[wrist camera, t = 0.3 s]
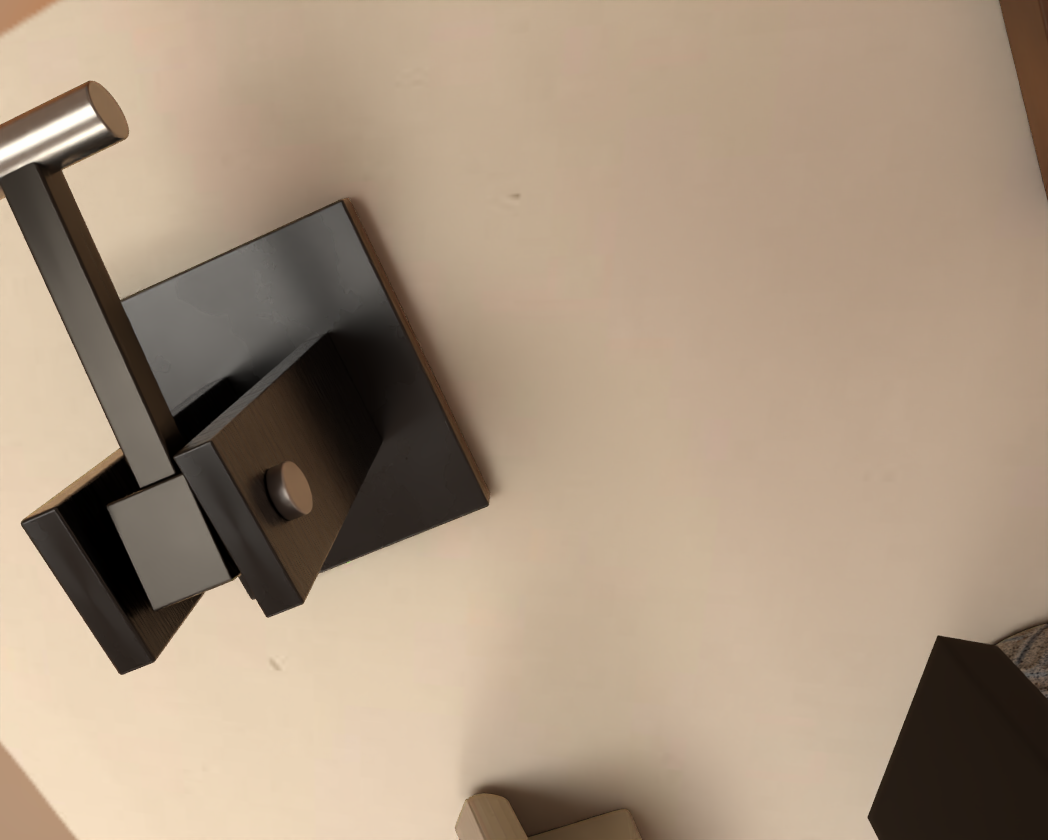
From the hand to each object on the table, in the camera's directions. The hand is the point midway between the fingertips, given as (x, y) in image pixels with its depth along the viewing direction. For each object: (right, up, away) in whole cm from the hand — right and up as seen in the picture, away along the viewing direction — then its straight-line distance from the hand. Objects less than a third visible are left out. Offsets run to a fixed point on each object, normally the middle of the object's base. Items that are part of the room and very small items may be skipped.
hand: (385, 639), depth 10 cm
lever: (-8, +4, +12) cm, 15 cm away
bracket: (-7, +3, +22) cm, 23 cm away
